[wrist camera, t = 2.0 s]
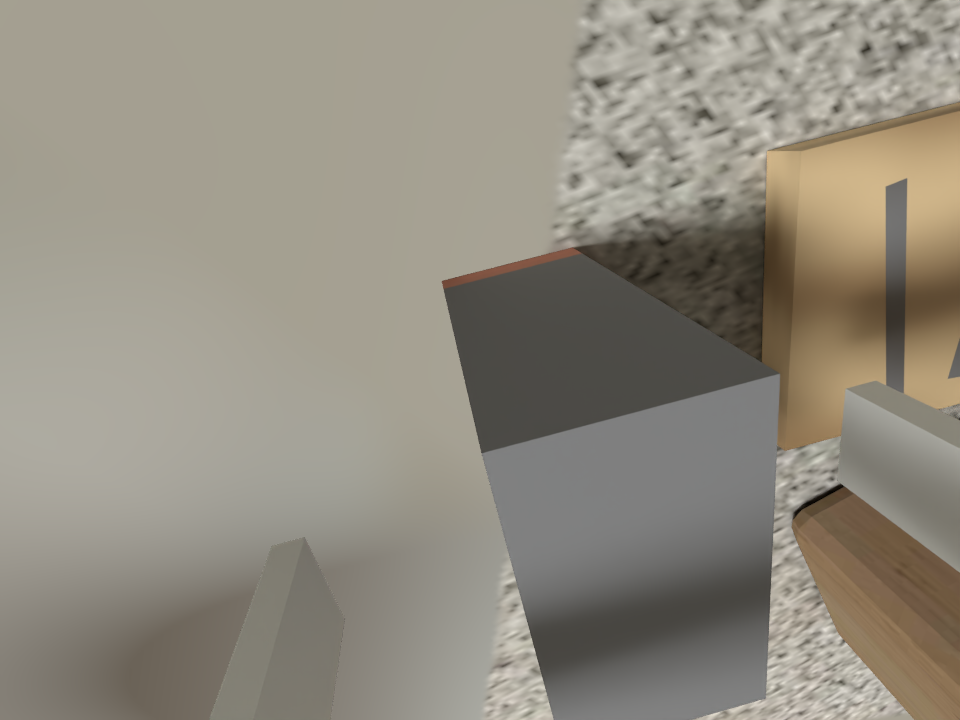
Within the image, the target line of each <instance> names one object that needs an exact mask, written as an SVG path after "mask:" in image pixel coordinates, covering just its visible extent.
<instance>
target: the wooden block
mask: <svg viewBox="0 0 960 720" xmlns="http://www.w3.org/2000/svg"><path fill="white" fill-rule="evenodd" d="M792 529H793V532H794V535H795V537H796V540H797V543H798V545H799V547H800V549H801V551H802V554H803V556H804V558H805V560H806V563H807V565H808V567H809V569H810V571H811V574H812V576H813V578H814V580H815V582H816V585H817V587H818V589H819V591H820V594H821V596H822V598H823V600H824V602H825V605H826V607H827V609H828V611H829V614H830V616H831V618H832V620H833V622H834V625H835V627H836V629H837V631H838V633H839V635H840V636H841V637H842V638H843V639H844V640H845V641H846V643H847V644H848V645H849V646H850V647H851V648H852V649H853V651H854V652H855V653H856V654H857V655H858V656H859V657H860V659H861V660H862V661H863V662H864V663H865V664H866V665H867V666H868V668H869V669H870V670H871V671H872V672H873V673H874V674H875V676H876V677H877V678H878V679H879V680H880V681H881V682H882V683H883V685H884V686H885V687H886V688H887V689H888V690H889V691H890V693H891V694H892V695H893V696H894V697H895V698H896V699H897V700H898V702H899V703H900V704H901V705H902V706H903V707H904V708H905V710H906V711H907V712H908V713H909V714H910V715H911V716H912V718H913V719H914V720H960V572H958V571H957V570H956V569H954V568H953V567H952V566H950V565H949V564H948V563H946V562H945V561H944V560H942V559H941V558H940V557H938V556H937V555H936V554H934V553H933V552H932V551H930V550H929V549H928V548H926V547H925V546H924V545H922V544H921V543H920V542H918V541H917V540H916V539H914V538H913V537H912V536H910V535H909V534H908V533H906V532H905V531H904V530H902V529H901V528H900V527H898V526H897V525H896V524H894V523H893V522H892V521H890V520H889V519H888V518H886V517H885V516H884V515H882V514H881V513H880V512H878V511H877V510H876V509H874V508H873V507H872V506H870V505H869V504H868V503H866V502H865V501H864V500H862V499H861V498H860V497H858V496H857V495H856V494H854V493H853V492H852V491H850V490H849V489H848V488H846V487H843V488H841V489H839V490H838V491H836V492H834V493H832V494H830V495H828V496H827V497H825V498H823V499H821V500H819V501H817V502H816V503H814V504H812V505H810V506H808V507H806V508H805V509H803V510H801V511H800V513H799V514H798V515H797V516H796V517H795V518H794V519H793V523H792Z"/></svg>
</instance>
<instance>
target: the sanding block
mask: <svg viewBox="0 0 960 720" xmlns="http://www.w3.org/2000/svg"><path fill="white" fill-rule="evenodd" d="M442 284H443V288H444V293H445V297H446V301H447V305H448V310H449V314H450V319H451V323H452V327H453V332H454V336H455V340H456V345H457V349H458V353H459V358H460V362H461V366H462V370H463V375H464V379H465V384H466V388H467V392H468V396H469V401H470V405H471V409H472V414H473V418H474V422H475V426H476V431H477V435H478V440H479V444H480V448H481V453H482V456H483V460H484V464H485V467H486V471H487V475H488V479H489V482H490V485H491V489H492V493H493V497H494V501H495V504H496V508H497V511H498V515H499V519H500V523H501V526H502V530H503V534H504V538H505V541H506V545H507V549H508V552H509V556H510V560H511V563H512V567H513V571H514V574H515V578H516V582H517V585H518V589H519V593H520V596H521V600H522V604H523V607H524V611H525V615H526V619H527V622H528V626H529V630H530V633H531V637H532V641H533V644H534V648H535V652H536V655H537V659H538V663H539V666H540V670H541V674H542V677H543V681H544V685H545V689H546V692H547V696H548V700H549V703H550V707H551V711H552V714H553V718H554V720H692V719H696V718H699V717H702V716H706V715H709V714H713V713H716V712H720V711H723V710H727V709H730V708H734V707H737V706H741V705H744V704H748V703H751V702H755V701H758V700H762V699H765V698H766V681H767V658H768V636H769V614H770V591H771V569H772V547H773V524H774V502H775V480H776V458H777V435H778V413H779V391H780V373H778V372H777V371H775V370H773V369H772V368H770V367H769V366H767V365H765V364H764V363H762V362H760V361H759V360H757V359H755V358H754V357H752V356H750V355H749V354H747V353H745V352H744V351H742V350H740V349H739V348H737V347H736V346H734V345H732V344H731V343H729V342H727V341H726V340H724V339H722V338H721V337H719V336H717V335H716V334H714V333H712V332H711V331H709V330H708V329H706V328H704V327H703V326H701V325H699V324H698V323H696V322H694V321H693V320H691V319H689V318H688V317H686V316H684V315H683V314H681V313H679V312H678V311H676V310H675V309H673V308H671V307H670V306H668V305H666V304H665V303H663V302H661V301H660V300H658V299H656V298H655V297H653V296H651V295H650V294H648V293H647V292H645V291H643V290H642V289H640V288H638V287H637V286H635V285H633V284H632V283H630V282H628V281H627V280H625V279H623V278H622V277H620V276H618V275H617V274H615V273H614V272H612V271H610V270H609V269H607V268H605V267H604V266H602V265H600V264H599V263H597V262H595V261H594V260H592V259H590V258H589V257H587V256H585V255H584V254H582V253H581V252H579V251H577V250H576V249H574V248H569V249H565V250H561V251H557V252H553V253H549V254H545V255H541V256H537V257H533V258H530V259H526V260H522V261H518V262H514V263H510V264H506V265H502V266H498V267H494V268H491V269H487V270H483V271H479V272H475V273H471V274H467V275H463V276H459V277H455V278H451V279H448V280H444V281H442Z"/></svg>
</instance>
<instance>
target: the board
mask: <svg viewBox="0 0 960 720" xmlns="http://www.w3.org/2000/svg"><path fill="white" fill-rule="evenodd" d="M762 363H764V364H765V365H767V366H769V367H770V368H772V369H773V370H775V371H777V372H778V373H780V391H779V413H778V435H777V445H778V446H780V447H781V448H782V449H783V450H785V451H786V450H790V449H794V448H797V447H801V446H805V445H808V444H812V443H816V442H820V441H823V440H827V439H831V438H834V437H838V436H841V432H842V421H843V411H844V400H845V389H847V388H850V387H854V386H858V385H861V384H865V383H869V382H872V381H878V382H880V383H882V384H884V385H886V386H888V387H891V388H893V389H895V390H897V391H899V392H901V393H903V394H905V395H908V396H910V397H912V398H914V399H916V400H918V401H920V402H922V403H924V404H927V405H929V406H931V407H933V408H935V409H937V410H938V409H941V408H945V407H949V406H952V405H956V404H960V102H959V103H955V104H951V105H947V106H943V107H939V108H935V109H931V110H927V111H923V112H919V113H915V114H911V115H907V116H903V117H900V118H896V119H892V120H888V121H884V122H880V123H876V124H872V125H868V126H864V127H860V128H856V129H852V130H848V131H844V132H840V133H836V134H832V135H829V136H825V137H821V138H817V139H813V140H809V141H805V142H801V143H797V144H793V145H789V146H785V147H781V148H777V149H773V150H769V151H767V177H766V215H765V253H764V291H763V329H762Z"/></svg>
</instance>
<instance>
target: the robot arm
mask: <svg viewBox="0 0 960 720" xmlns="http://www.w3.org/2000/svg"><path fill="white" fill-rule="evenodd" d="M837 481H838V482H840V483H841V484H842V485H844V486H845V487H846V488H848V489H849V490H850V491H852V492H853V493H854V494H856V495H857V496H858V497H860V498H861V499H862V500H864V501H865V502H866V503H868V504H869V505H870V506H872V507H873V508H874V509H876V510H877V511H878V512H880V513H881V514H882V515H884V516H885V517H886V518H888V519H889V520H890V521H892V522H893V523H894V524H896V525H897V526H898V527H900V528H901V529H902V530H904V531H905V532H906V533H908V534H909V535H910V536H912V537H913V538H914V539H916V540H917V541H918V542H920V543H921V544H922V545H924V546H925V547H926V548H928V549H929V550H930V551H932V552H933V553H934V554H936V555H937V556H938V557H940V558H941V559H942V560H944V561H945V562H946V563H948V564H949V565H950V566H952V567H953V568H954V569H956V570H957V571H958V572H960V420H958V419H956V418H954V417H952V416H950V415H948V414H946V413H944V412H941V411H939V410H937V409H935V408H933V407H931V406H929V405H927V404H924V403H922V402H920V401H918V400H916V399H914V398H912V397H910V396H908V395H905V394H903V393H901V392H899V391H897V390H895V389H893V388H891V387H888V386H886V385H884V384H882V383H880V382H878V381H872V382H869V383H865V384H861V385H858V386H854V387H850V388H847V389H845V400H844V411H843V421H842V432H841V443H840V453H839V464H838V475H837ZM344 622H345V618H344V616H343V614H342V612H341V610H340V608H339V606H338V604H337V602H336V600H335V598H334V596H333V594H332V591H331V589H330V588H329V585H328V584H327V581H326V579H325V577H324V575H323V573H322V571H321V569H320V567H319V565H318V563H317V561H316V559H315V557H314V555H313V553H312V551H311V549H310V547H309V545H308V543H307V541H306V539H305V537H303V538H299V539H296V540H292V541H288V542H285V543H281V544H277V545H274V546H272V547H271V550H270V552H269V556H268V558H267V561H266V563H265V566H264V569H263V572H262V575H261V577H260V580H259V583H258V586H257V588H256V592H255V594H254V597H253V600H252V602H251V605H250V608H249V611H248V613H247V616H246V619H245V622H244V625H243V627H242V630H241V633H240V636H239V639H238V641H237V644H236V647H235V650H234V652H233V655H232V658H231V661H230V663H229V666H228V669H227V672H226V675H225V678H224V680H223V683H222V686H221V688H220V691H219V694H218V697H217V700H216V702H215V705H214V708H213V711H212V714H211V716H210V719H209V720H330V719H331V712H332V705H333V698H334V691H335V684H336V677H337V670H338V663H339V656H340V649H341V642H342V636H343V629H344Z"/></svg>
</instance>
